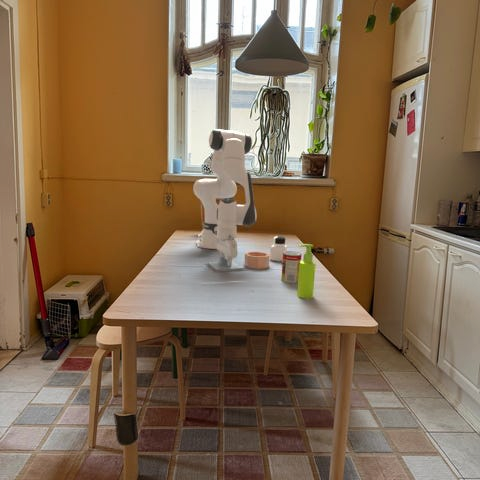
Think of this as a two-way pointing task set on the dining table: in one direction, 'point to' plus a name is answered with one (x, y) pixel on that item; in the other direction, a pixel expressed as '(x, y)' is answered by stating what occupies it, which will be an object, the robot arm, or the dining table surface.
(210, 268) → the mat
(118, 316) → the dining table surface
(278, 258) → the medicine bottle
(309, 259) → the soap dispenser
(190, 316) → the dining table surface
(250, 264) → the bowl
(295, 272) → the canned food
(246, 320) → the dining table surface
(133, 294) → the dining table surface
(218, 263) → the lid
